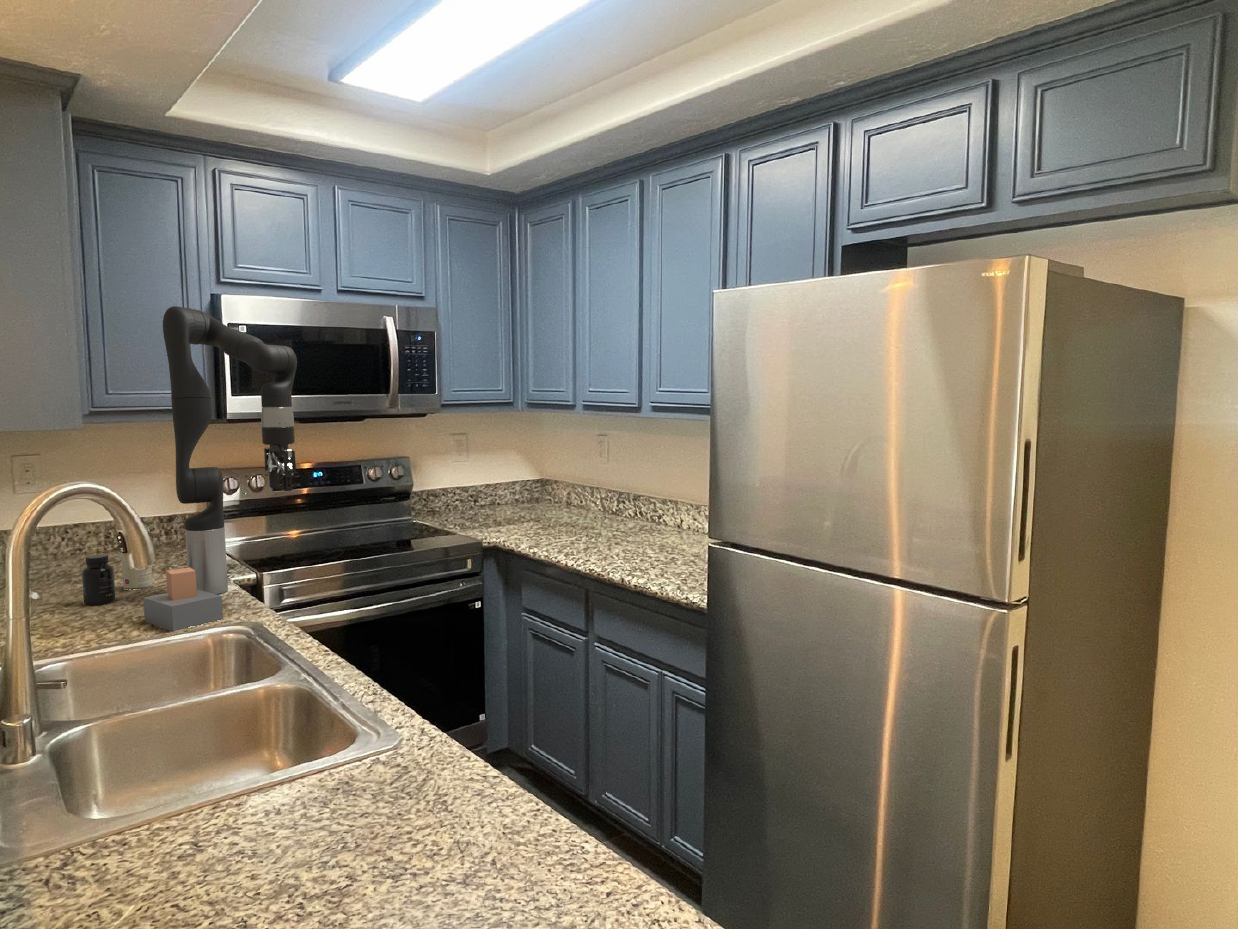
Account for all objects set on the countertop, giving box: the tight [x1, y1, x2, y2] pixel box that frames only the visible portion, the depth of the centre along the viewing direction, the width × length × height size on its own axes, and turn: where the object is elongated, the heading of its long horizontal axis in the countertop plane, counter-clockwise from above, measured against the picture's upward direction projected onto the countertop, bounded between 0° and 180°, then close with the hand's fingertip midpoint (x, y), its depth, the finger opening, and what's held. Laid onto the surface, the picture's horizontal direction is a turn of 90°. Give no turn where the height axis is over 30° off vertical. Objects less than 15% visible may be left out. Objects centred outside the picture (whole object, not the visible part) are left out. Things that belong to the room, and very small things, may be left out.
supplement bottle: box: [81, 554, 116, 607], centre depth 202 cm, size 7×7×12 cm
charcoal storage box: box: [142, 589, 224, 632], centre depth 185 cm, size 14×11×6 cm
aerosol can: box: [120, 524, 153, 590], centre depth 217 cm, size 7×7×20 cm
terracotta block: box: [165, 567, 197, 600], centre depth 184 cm, size 5×5×6 cm
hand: (281, 489), depth 202 cm, fingers open, 8 cm apart
